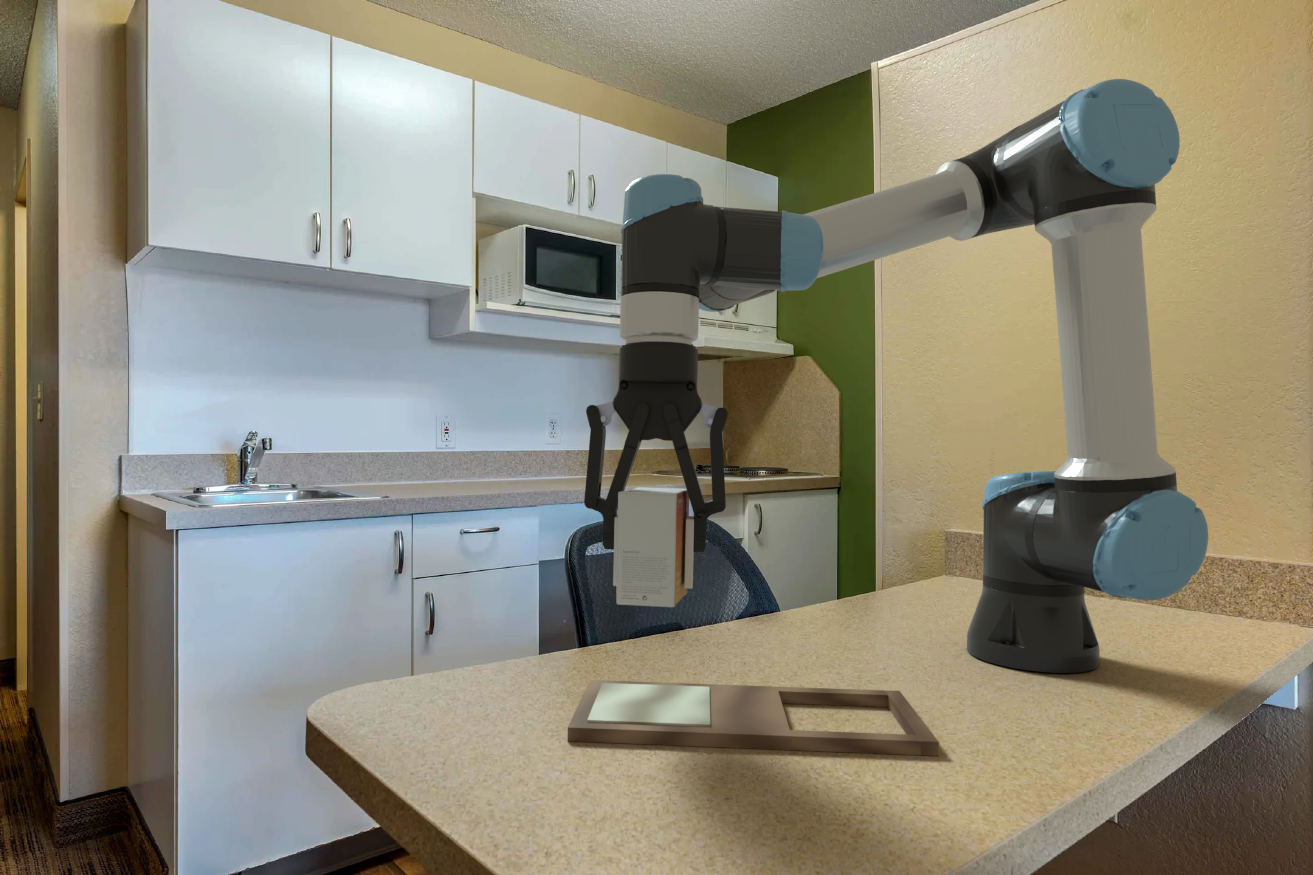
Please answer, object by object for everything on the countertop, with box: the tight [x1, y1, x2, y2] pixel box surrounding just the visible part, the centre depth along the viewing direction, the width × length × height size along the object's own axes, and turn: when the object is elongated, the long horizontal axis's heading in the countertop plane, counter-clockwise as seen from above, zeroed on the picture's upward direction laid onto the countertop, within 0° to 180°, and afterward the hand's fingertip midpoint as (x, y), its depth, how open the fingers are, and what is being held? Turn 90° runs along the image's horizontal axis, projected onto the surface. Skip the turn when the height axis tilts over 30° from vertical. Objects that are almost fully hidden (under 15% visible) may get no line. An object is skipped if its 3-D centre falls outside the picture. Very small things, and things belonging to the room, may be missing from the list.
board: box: [567, 679, 940, 757], centre depth 78 cm, size 32×14×1 cm, turn 87°
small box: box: [615, 486, 690, 608], centre depth 78 cm, size 8×6×10 cm
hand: (653, 584), depth 78 cm, fingers closed on small box, 6 cm apart
